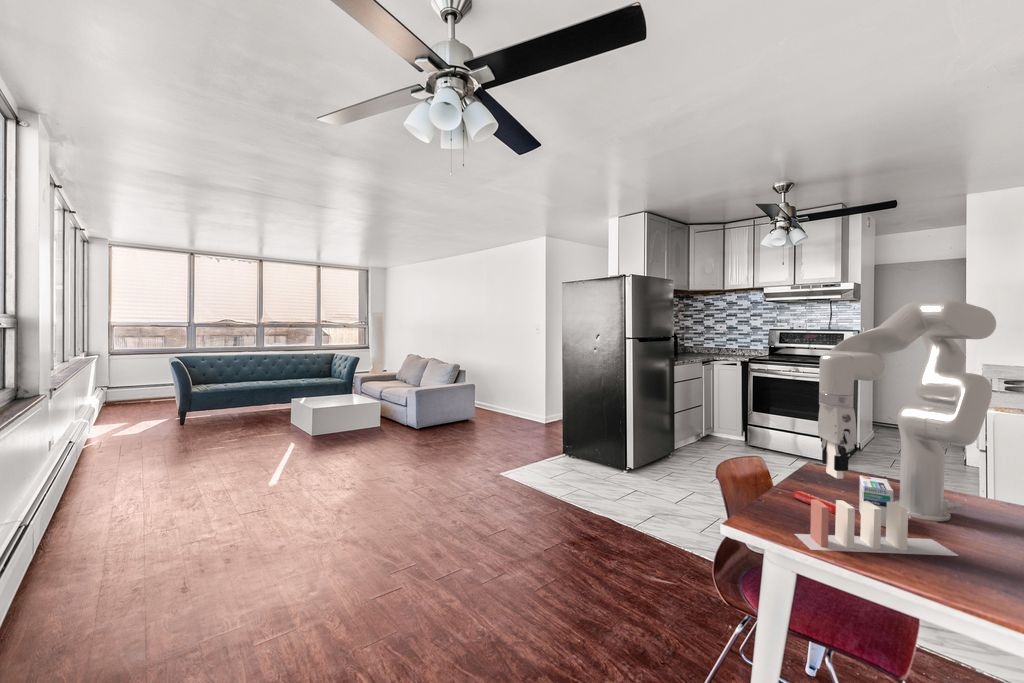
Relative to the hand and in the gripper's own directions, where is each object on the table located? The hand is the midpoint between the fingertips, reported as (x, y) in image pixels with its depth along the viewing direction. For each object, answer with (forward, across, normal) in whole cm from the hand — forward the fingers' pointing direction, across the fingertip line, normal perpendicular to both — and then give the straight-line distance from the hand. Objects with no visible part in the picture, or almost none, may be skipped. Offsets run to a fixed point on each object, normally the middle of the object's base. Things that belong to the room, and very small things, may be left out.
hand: (834, 466), depth 124 cm
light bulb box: (+18, +7, -15) cm, 24 cm away
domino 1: (+17, -9, +8) cm, 21 cm away
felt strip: (+17, -9, -4) cm, 20 cm away
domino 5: (+17, -9, -10) cm, 21 cm away
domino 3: (+17, -9, +2) cm, 19 cm away
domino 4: (+17, -9, -4) cm, 19 cm away
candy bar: (+18, +16, -4) cm, 24 cm away
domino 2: (+3, 0, 0) cm, 3 cm away
